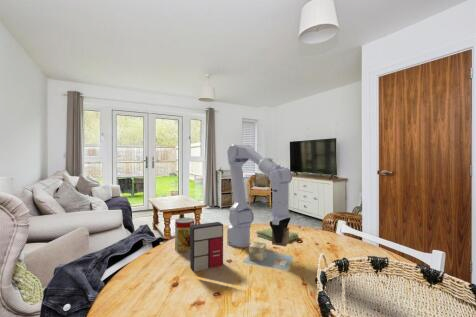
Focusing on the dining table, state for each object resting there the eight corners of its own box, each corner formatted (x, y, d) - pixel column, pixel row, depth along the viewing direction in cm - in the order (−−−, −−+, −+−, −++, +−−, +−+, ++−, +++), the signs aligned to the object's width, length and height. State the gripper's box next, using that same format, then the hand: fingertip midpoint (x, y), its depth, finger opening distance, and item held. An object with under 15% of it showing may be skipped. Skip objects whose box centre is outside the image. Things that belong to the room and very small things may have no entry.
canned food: (196, 250, 97) (196, 221, 97) (177, 253, 93) (177, 223, 93) (191, 243, 104) (191, 216, 104) (173, 246, 100) (173, 218, 100)
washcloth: (271, 231, 124) (271, 225, 124) (300, 239, 111) (300, 232, 111) (254, 236, 116) (254, 229, 116) (283, 246, 102) (283, 239, 102)
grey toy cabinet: (193, 274, 76) (193, 228, 76) (189, 269, 80) (189, 225, 80) (224, 267, 81) (224, 224, 81) (219, 262, 85) (219, 221, 85)
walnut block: (271, 244, 82) (271, 230, 82) (275, 239, 87) (275, 226, 87) (286, 246, 80) (286, 231, 80) (288, 241, 85) (288, 228, 85)
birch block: (248, 259, 85) (249, 246, 85) (253, 254, 90) (253, 241, 90) (262, 262, 83) (262, 248, 83) (266, 256, 88) (266, 243, 88)
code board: (242, 264, 83) (242, 262, 83) (254, 251, 95) (254, 249, 95) (286, 273, 77) (287, 270, 77) (293, 258, 89) (293, 255, 89)
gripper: (287, 206, 75) (287, 248, 75) (295, 199, 89) (295, 235, 88) (266, 204, 78) (266, 245, 78) (276, 198, 91) (276, 233, 91)
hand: (280, 240), depth 83 cm, fingers closed on walnut block, 5 cm apart
